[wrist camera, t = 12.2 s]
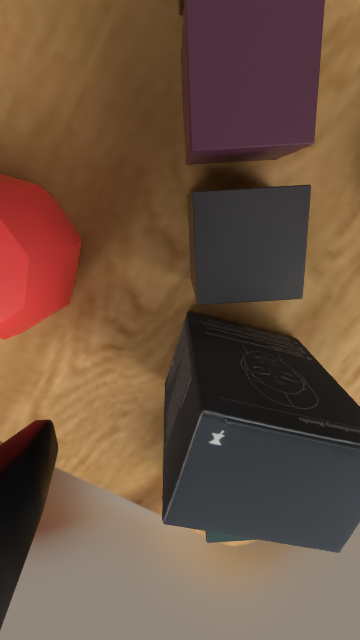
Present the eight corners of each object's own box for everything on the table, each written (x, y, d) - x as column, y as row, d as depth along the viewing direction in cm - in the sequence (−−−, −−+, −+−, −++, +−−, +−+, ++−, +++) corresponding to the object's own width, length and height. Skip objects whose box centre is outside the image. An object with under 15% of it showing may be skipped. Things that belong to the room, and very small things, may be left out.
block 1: (185, 165, 18) (190, 151, 13) (180, 53, 16) (184, -8, 11) (277, 159, 18) (314, 144, 13) (281, 47, 16) (327, -16, 11)
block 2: (191, 281, 20) (197, 305, 15) (187, 194, 18) (192, 191, 14) (272, 276, 20) (302, 299, 15) (275, 189, 18) (311, 184, 14)
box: (164, 383, 22) (157, 528, 12) (186, 308, 21) (200, 407, 11) (269, 407, 23) (343, 561, 13) (300, 337, 21) (411, 454, 12)
